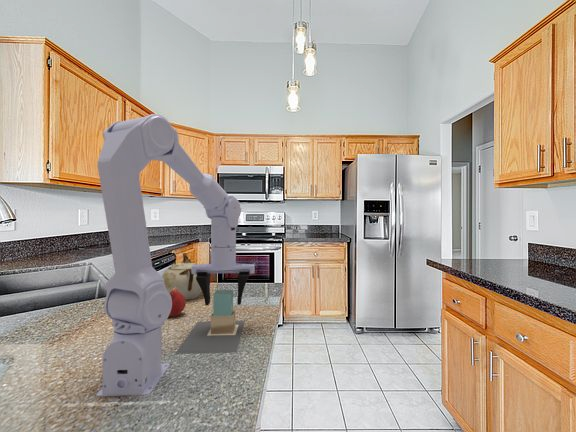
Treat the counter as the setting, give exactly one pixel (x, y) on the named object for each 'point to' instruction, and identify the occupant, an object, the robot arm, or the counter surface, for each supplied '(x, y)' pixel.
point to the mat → (211, 340)
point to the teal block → (223, 303)
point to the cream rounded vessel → (182, 279)
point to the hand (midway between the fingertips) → (223, 303)
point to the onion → (177, 303)
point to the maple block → (223, 324)
